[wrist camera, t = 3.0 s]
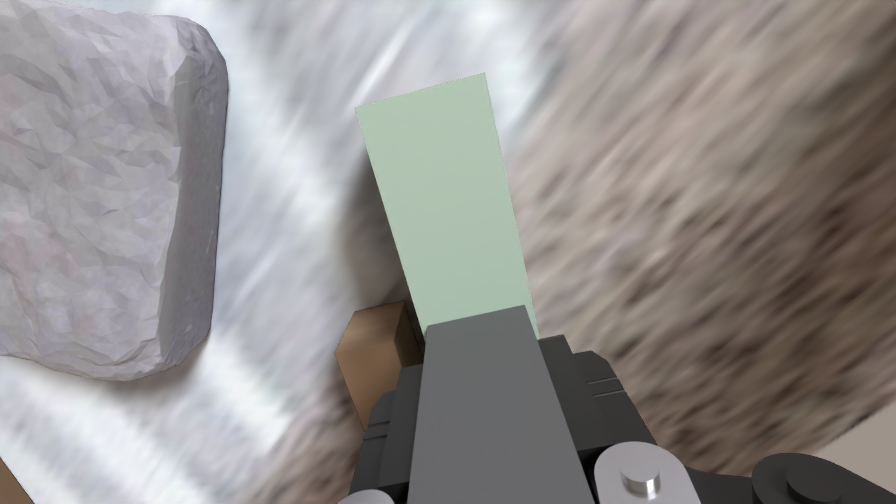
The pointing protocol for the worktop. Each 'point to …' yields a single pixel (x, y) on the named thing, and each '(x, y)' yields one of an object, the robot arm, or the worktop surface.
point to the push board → (469, 305)
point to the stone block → (107, 187)
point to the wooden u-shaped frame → (359, 357)
